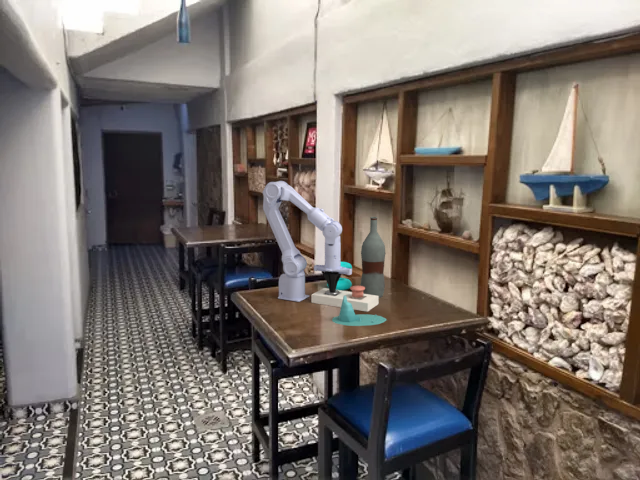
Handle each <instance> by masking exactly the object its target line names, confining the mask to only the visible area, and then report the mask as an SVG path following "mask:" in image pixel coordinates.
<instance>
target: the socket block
mask: <svg viewBox="0 0 640 480" xmlns="http://www.w3.org/2000/svg"><path fill="white" fill-rule="evenodd" d="M327 290H329V287H323V288H321V289H320V290H318V291H316V292H314V293H312V294H311V297H310V298H311V303H312V304H317V305H318V304H319V305H324V306H331V307H337V308H341V305H342V301H343V297H344V295H346V297H347V302H349V303H351V304H352V307H353V310H354V311H360V312H361V311H362V312H366V313H368V312H370V311H371V310H372V309H373V308H375V307H376V306H378V305H379V304H380V303H379V302H380V301H379V299H380V298H379V296H376V295H369V294H363V297H360V298H356V297H352V291H348V290H338V291H340V293H339V294H338V295H337V296H331V295H327V294H326V293H325V291H327Z"/></svg>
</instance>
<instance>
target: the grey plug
mask: <svg viewBox="0 0 640 480" xmlns="http://www.w3.org/2000/svg"><path fill="white" fill-rule="evenodd" d="M325 293H326V294H327V295H331V296H337V295H338V294H339V293H340V291H338V290H336V291H335V292H333V293H332V292H330V291H329V290H327V291H325Z"/></svg>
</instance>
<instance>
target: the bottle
mask: <svg viewBox="0 0 640 480" xmlns="http://www.w3.org/2000/svg"><path fill="white" fill-rule="evenodd" d="M369 225H370V227H369V233H368V234H367V236H366V238H365V239H364V240H363V242H362V243H361V244H362V245H361V251H360V256H361V271H362V272H361V273H362V274H361V279H360V286H364V287H365V290H363V294H369V295H376V296H379V299H381V298H383V296H384V293H385V287H386V284H385V274H384V270H385V260H386V245H385V243H384V241H383V239H382V237H381V235H380V234H379V232H378V217H377V216H370V224H369Z"/></svg>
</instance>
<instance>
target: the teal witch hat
mask: <svg viewBox="0 0 640 480" xmlns="http://www.w3.org/2000/svg"><path fill="white" fill-rule="evenodd" d="M331 321H332V323H334V324H337V325H341V326H350V327H351V326H352V327H362V326H365V327H367V326H375V325H380V324H382V323H385V322H386V321H388V320H387V318H385V317H383V316H382V315H377V314H366V313H365V314H363V313H362V314H359V313H358V314H356V313H355V310H354V309H353V307H352V304H351V303H349V302H347V297H346V295H344V297H343V301H342V305H341V307H340V309H339V314H338V315H337V316H334V317H332V319H331Z"/></svg>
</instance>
